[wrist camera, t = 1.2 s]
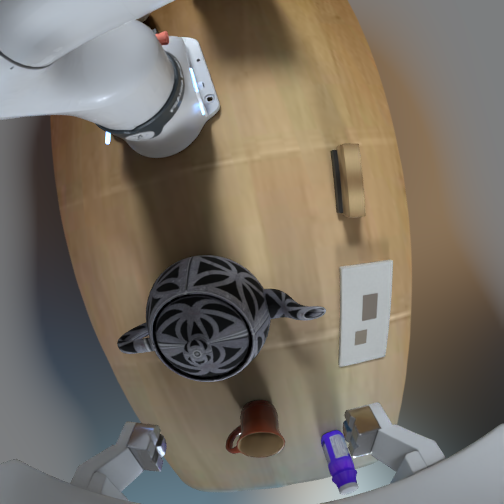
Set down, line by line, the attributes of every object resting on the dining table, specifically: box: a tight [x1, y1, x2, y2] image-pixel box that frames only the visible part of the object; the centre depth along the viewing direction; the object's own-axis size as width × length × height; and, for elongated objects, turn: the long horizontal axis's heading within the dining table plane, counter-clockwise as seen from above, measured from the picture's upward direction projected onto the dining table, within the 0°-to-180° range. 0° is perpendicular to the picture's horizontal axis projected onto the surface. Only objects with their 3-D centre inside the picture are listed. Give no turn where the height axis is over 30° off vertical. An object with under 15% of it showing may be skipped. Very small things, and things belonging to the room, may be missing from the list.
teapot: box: [117, 255, 326, 382], centre depth 38 cm, size 19×31×15 cm, turn 105°
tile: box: [338, 260, 393, 367], centre depth 46 cm, size 20×10×1 cm, turn 6°
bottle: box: [321, 430, 358, 495], centre depth 45 cm, size 7×6×17 cm
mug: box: [226, 400, 285, 457], centre depth 46 cm, size 12×9×10 cm
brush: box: [331, 144, 366, 218], centre depth 40 cm, size 11×4×4 cm, turn 6°
